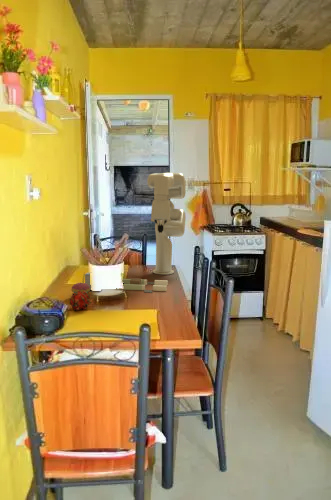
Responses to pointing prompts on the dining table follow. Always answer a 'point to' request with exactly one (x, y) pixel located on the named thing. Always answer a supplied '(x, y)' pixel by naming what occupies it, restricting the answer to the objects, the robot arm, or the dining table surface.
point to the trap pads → (149, 290)
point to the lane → (156, 286)
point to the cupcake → (80, 286)
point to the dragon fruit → (80, 300)
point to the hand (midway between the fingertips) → (160, 232)
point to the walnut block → (135, 281)
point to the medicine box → (87, 279)
